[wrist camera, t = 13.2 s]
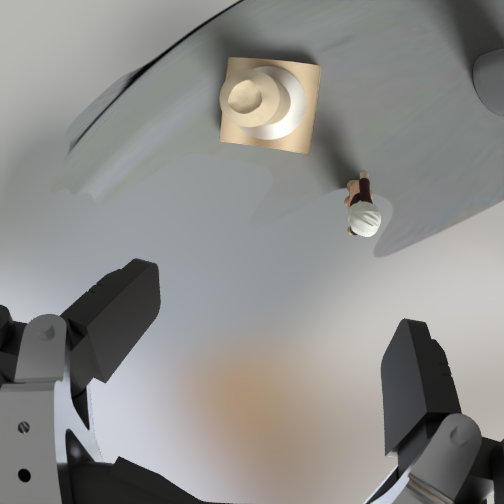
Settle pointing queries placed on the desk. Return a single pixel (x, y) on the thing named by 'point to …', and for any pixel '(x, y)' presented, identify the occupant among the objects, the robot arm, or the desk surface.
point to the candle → (254, 99)
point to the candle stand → (300, 113)
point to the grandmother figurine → (361, 207)
